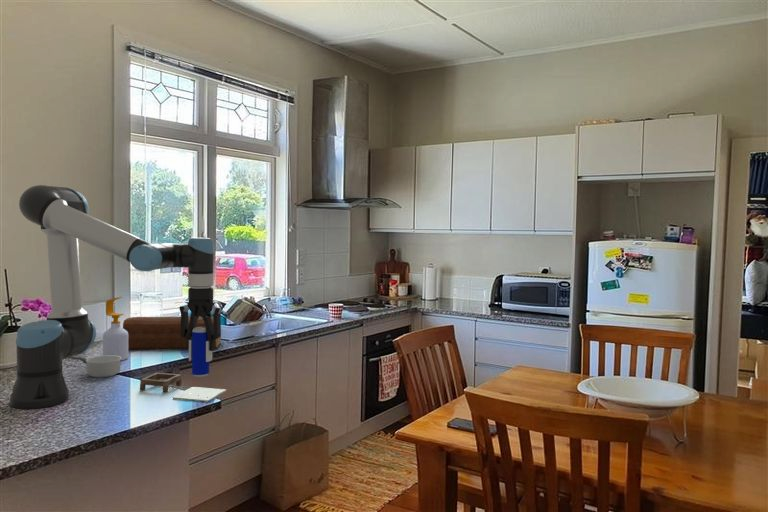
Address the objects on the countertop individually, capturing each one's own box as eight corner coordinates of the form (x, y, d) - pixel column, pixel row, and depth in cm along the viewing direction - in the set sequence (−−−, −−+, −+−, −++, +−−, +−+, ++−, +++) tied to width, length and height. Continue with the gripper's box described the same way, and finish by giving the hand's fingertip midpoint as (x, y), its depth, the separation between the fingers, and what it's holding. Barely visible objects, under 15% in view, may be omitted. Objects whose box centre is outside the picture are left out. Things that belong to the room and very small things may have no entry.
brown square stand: (166, 392, 182) (166, 381, 182) (139, 390, 183) (140, 379, 183) (181, 385, 191) (181, 374, 191) (156, 383, 193) (156, 372, 192)
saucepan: (80, 367, 211) (80, 352, 210) (128, 371, 207) (128, 356, 206) (56, 375, 199) (56, 359, 199) (107, 379, 195) (107, 363, 195)
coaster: (208, 402, 173) (208, 400, 173) (172, 399, 176) (172, 397, 176) (226, 391, 185) (226, 389, 185) (192, 388, 187) (192, 386, 187)
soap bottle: (118, 362, 219) (118, 298, 218) (97, 360, 221) (97, 297, 220) (133, 357, 228) (133, 296, 227) (113, 355, 230) (113, 295, 229)
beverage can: (203, 372, 184) (203, 325, 183) (212, 374, 180) (212, 328, 180) (188, 375, 180) (188, 327, 179) (197, 378, 176) (198, 330, 176)
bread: (217, 350, 246) (217, 319, 245) (121, 351, 240) (121, 319, 239) (221, 342, 261) (221, 313, 261) (131, 343, 255) (131, 313, 254)
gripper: (233, 286, 181) (232, 359, 182) (180, 284, 184) (180, 355, 185) (222, 289, 173) (221, 364, 174) (167, 287, 177) (167, 361, 178)
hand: (200, 360), depth 180 cm, fingers closed on beverage can, 5 cm apart
